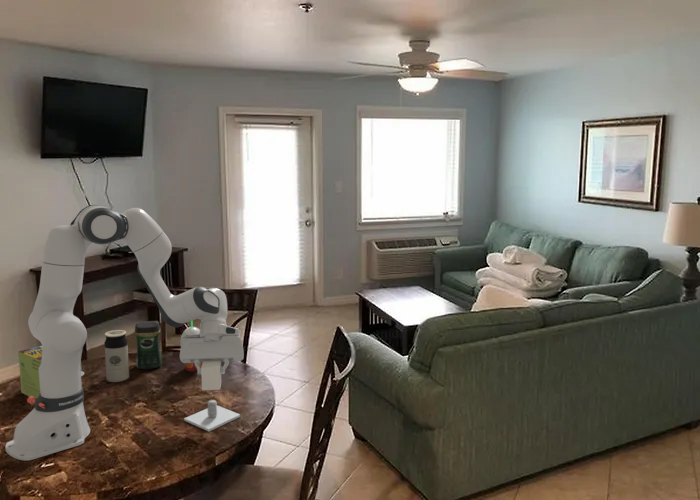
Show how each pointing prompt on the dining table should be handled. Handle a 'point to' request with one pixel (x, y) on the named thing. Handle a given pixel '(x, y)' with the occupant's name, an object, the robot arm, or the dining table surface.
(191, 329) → the smoothie
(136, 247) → the robot arm
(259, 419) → the dining table surface
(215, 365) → the cream rectangular block
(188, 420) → the stud board
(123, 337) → the travel mug
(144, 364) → the coffee jar
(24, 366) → the protein box
